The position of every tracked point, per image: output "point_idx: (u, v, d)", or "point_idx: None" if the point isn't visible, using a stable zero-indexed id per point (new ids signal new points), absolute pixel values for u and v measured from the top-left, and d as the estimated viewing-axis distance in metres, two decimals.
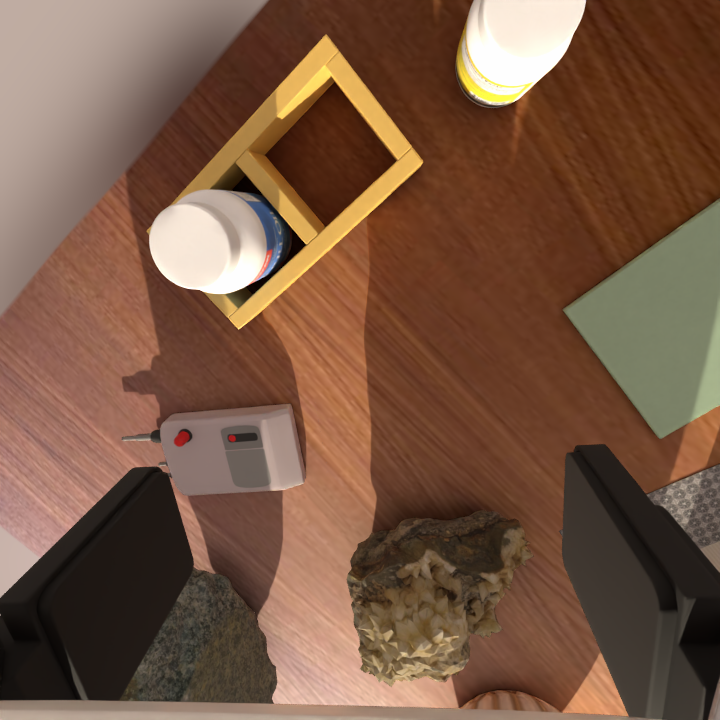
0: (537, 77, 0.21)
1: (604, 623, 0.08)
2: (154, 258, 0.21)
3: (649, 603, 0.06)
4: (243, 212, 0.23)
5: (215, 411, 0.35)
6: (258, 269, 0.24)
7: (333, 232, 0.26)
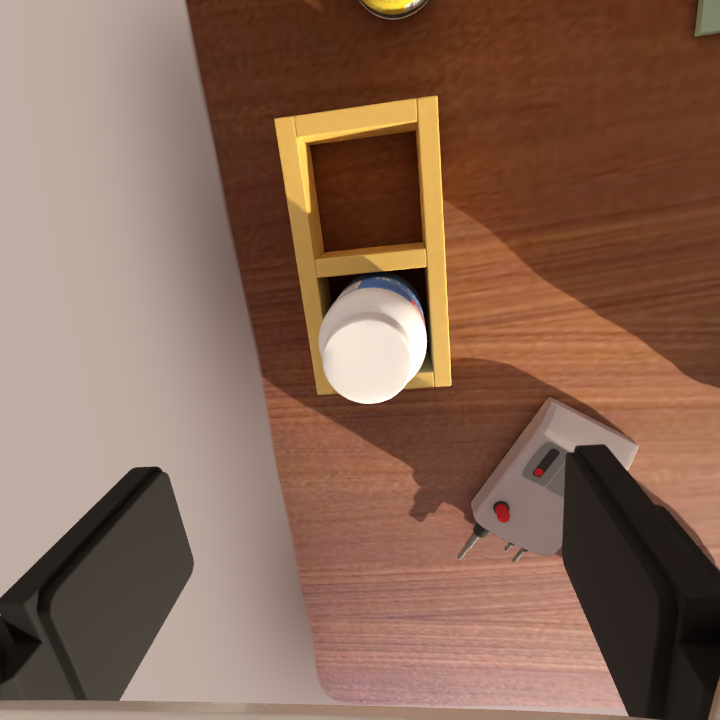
0: None
1: (604, 623, 0.08)
2: (353, 399, 0.20)
3: (649, 603, 0.06)
4: (367, 296, 0.21)
5: (499, 466, 0.31)
6: (422, 322, 0.22)
7: (435, 233, 0.23)
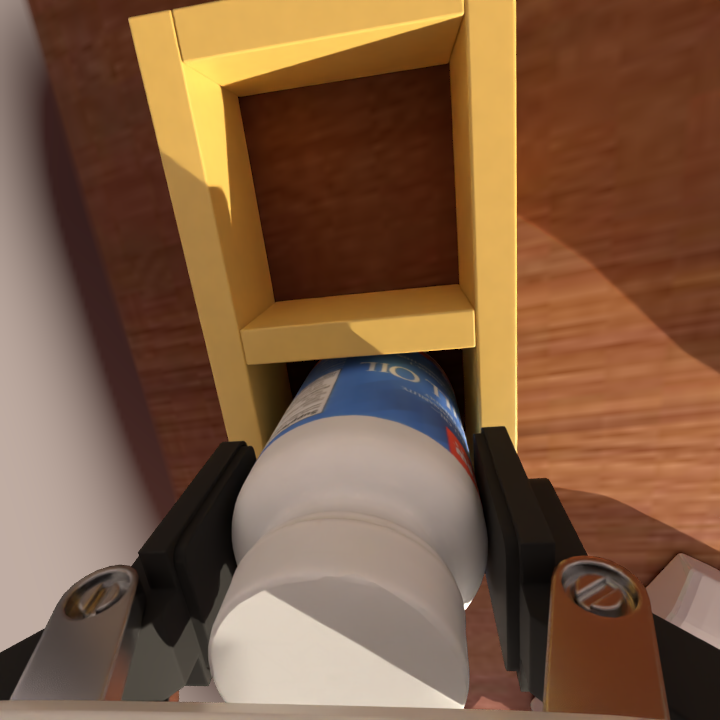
0: None
1: (491, 579, 0.09)
2: None
3: (502, 552, 0.07)
4: (341, 451, 0.08)
5: None
6: (478, 503, 0.09)
7: (496, 277, 0.11)
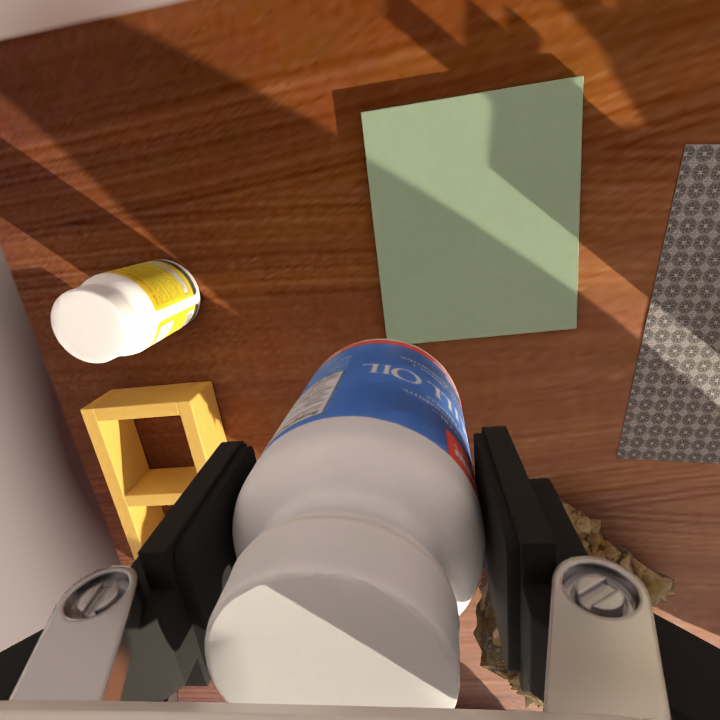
0: (154, 323, 0.25)
1: (492, 579, 0.09)
2: None
3: (503, 552, 0.07)
4: (339, 452, 0.08)
5: None
6: (475, 505, 0.09)
7: None
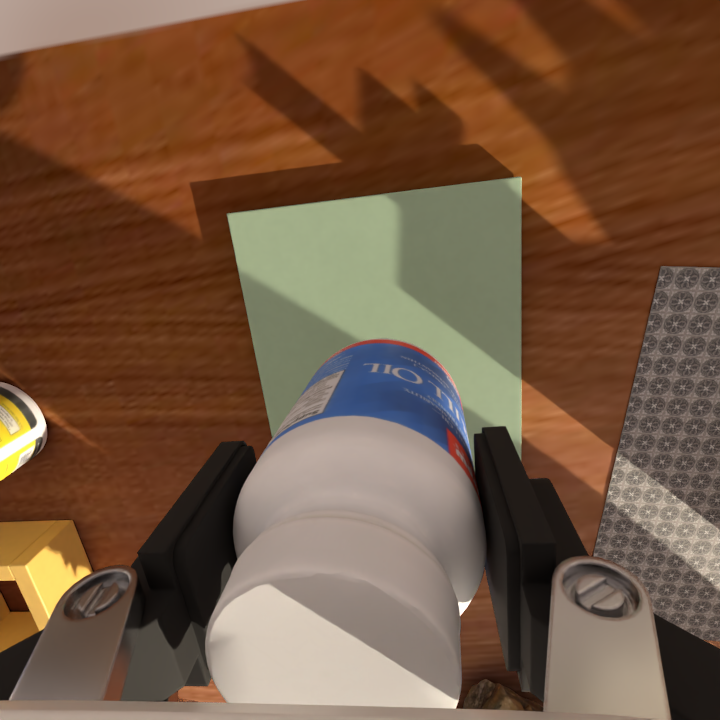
0: None
1: (492, 579, 0.09)
2: None
3: (503, 552, 0.07)
4: (339, 452, 0.08)
5: None
6: (476, 504, 0.09)
7: None
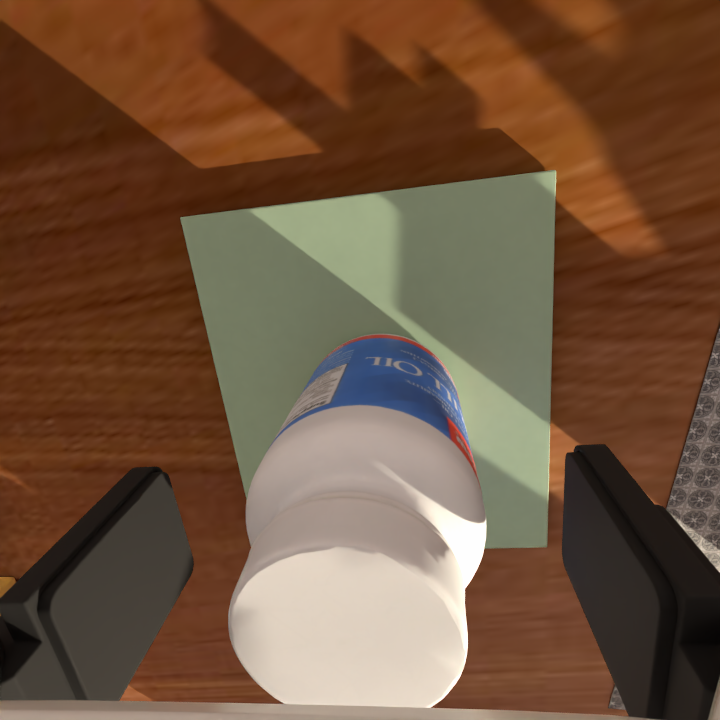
0: None
1: (604, 623, 0.08)
2: None
3: (649, 603, 0.06)
4: (349, 438, 0.09)
5: None
6: (477, 487, 0.09)
7: None
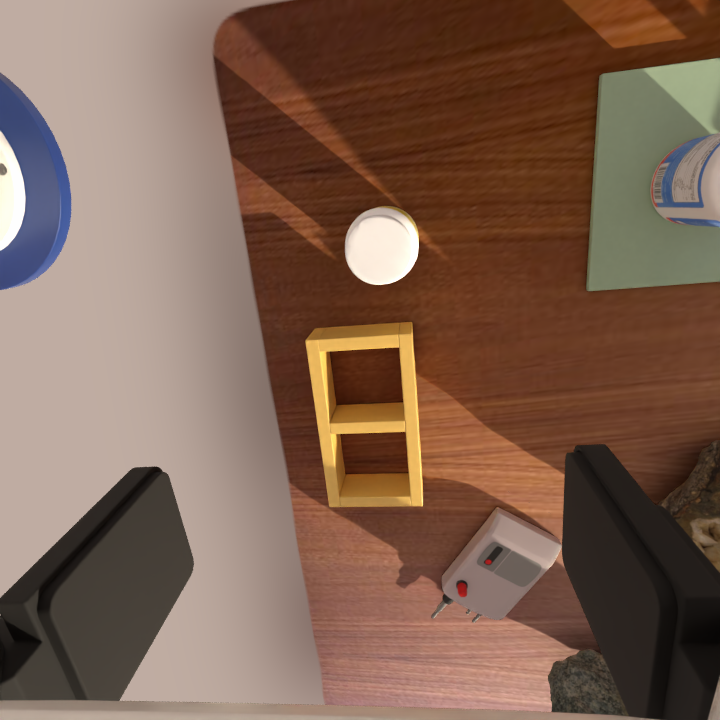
0: (417, 254, 0.28)
1: (604, 623, 0.08)
2: None
3: (649, 603, 0.06)
4: None
5: (461, 553, 0.42)
6: None
7: (410, 412, 0.35)
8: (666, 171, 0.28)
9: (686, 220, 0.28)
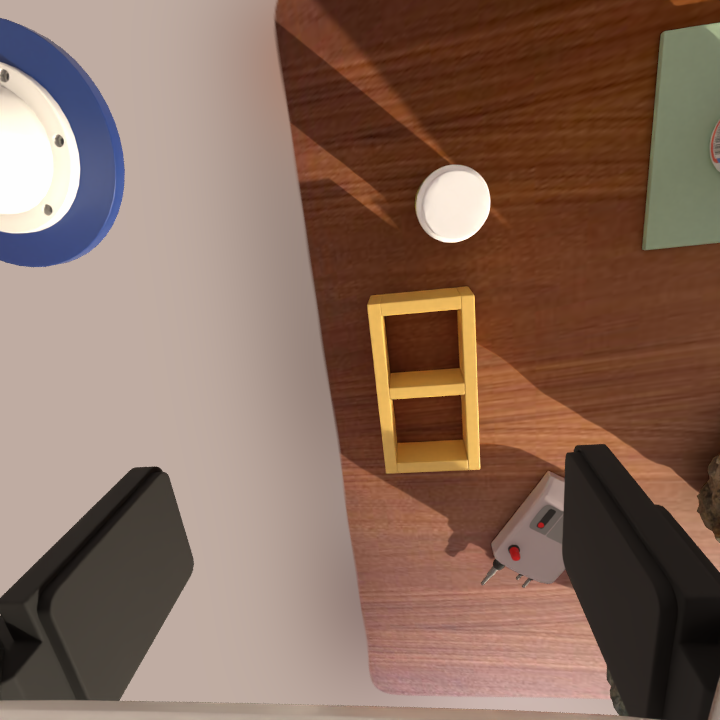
0: None
1: (604, 623, 0.08)
2: None
3: (649, 603, 0.06)
4: None
5: (512, 518, 0.43)
6: None
7: (470, 374, 0.35)
8: None
9: None
